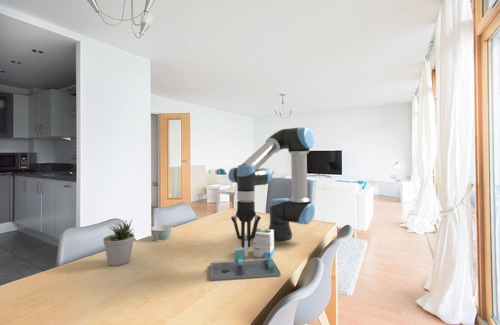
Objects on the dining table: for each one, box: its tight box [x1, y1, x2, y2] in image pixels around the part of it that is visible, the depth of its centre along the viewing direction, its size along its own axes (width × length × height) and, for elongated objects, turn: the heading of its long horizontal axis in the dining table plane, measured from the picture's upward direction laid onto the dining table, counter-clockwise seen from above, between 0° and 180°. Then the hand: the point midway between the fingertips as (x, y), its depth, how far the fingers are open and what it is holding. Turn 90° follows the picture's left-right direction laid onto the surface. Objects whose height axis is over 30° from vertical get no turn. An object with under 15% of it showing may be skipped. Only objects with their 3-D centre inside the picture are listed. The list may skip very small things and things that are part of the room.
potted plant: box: [102, 219, 135, 267], centre depth 113 cm, size 13×14×20 cm
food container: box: [150, 224, 173, 241], centre depth 147 cm, size 12×12×6 cm
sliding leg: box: [233, 248, 246, 270], centre depth 106 cm, size 4×8×6 cm, turn 8°
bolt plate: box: [209, 257, 282, 282], centre depth 105 cm, size 28×14×4 cm, turn 99°
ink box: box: [252, 227, 275, 259], centre depth 123 cm, size 9×8×13 cm
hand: (245, 254), depth 108 cm, fingers closed
